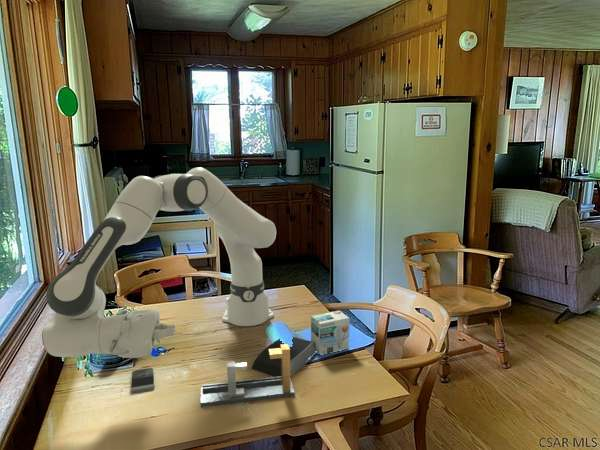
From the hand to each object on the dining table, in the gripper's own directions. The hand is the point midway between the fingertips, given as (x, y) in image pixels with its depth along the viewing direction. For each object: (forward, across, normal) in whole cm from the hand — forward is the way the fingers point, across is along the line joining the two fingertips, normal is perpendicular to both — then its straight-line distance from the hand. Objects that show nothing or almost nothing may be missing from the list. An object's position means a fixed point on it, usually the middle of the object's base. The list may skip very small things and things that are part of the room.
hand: (174, 330), depth 113 cm
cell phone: (-10, +11, +20) cm, 25 cm away
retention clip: (+15, -3, +18) cm, 23 cm away
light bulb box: (+45, +19, +19) cm, 52 cm away
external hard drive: (+30, +14, +19) cm, 39 cm away
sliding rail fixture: (+18, -1, +19) cm, 26 cm away
